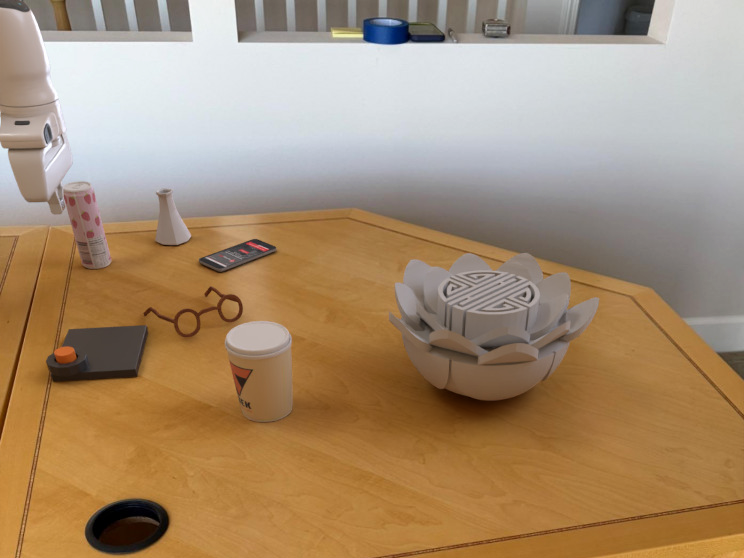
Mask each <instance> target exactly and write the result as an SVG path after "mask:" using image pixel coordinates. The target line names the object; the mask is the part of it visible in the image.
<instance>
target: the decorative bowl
mask: <svg viewBox="0 0 744 558" xmlns="http://www.w3.org/2000/svg"><path fill="white" fill-rule="evenodd" d="M402 278H403V279H402V282H400V281H399V282H395V283H394V297H395V302H396V306H397V309H398V311H399V313H400V316H401V318H398V317H396V316H395V314H393V313H392V312H391V311H390V310H388V321H389V323H390V324H391V325H393V326H394V328H396V330H398V331H399V332H400V333H401V338H402V342H403V347H404V349H405V352H406V353H407V356H408V358H409V360H410V361H411V363H412V365H413V366H414V368H415V369H416V371H418V373H419V374H420V375H421V376H422V377H423V378H424V380H426V381H427V382H428V383H430V384H431V386H434V387H435V388H437V389H439V390H443V389H445V390H447V391H449V392H452V393H455V394H458V395H460V396H465V397H470V398H472V399H476V400H480V401H488V402H489V401H490V402H491V401H493V402H494V401H501V400H507V399H512V398H515V397H517V396H520V395H522V394H525V393H527V392H528V391H530V390H531V389H534V387H536V386H537V385H538V384H539V383H540V382H545V381H546V380H548V378H550V377H551V375H553V373H555V371H556V370H557V369H558V367H559V366H560V365H561V363H562V361H563V360H564V357H565V356H566V354H567V352H568V349H569V347H570V343H571V341H574V340H575V339H577V338H578V337H580V336H581V335H582V334H583V333H584V332H585V331H586V330H587V329H588V327H589V325H590V324H591V323H592V321H593V319H594V318H595V316H596V314H597V311H598V308H599V304H600V298H599V297H596V296H594V297H592V298H589V299H587V300H584V301H582V302H580V303H578V304H575V305H574V306H572V307H570V308H569V304H570V299H571V294H572V293H571V292H572V282H571V277H570V275H569V273H568V272H566V271H561V272H556V273H554V274H551V275H548V276H547V277H545V278H544V273H543V269H542V268H541V266H540V264H539V262H538V260H537V259H536V258H535V257H534V256H533V255H532V254H531V253H529V252H522V253H518V254H515V255H514V256H512V257H510V258H509V259H507V260H506V261H505V262H503V263H502V264H501V265H500V266H499V267H498V268H497V269H495V270H493V269H492V267H491V266H490V265H489V264H488V263H487V262H486V261H485V260H484V259H483V258H481V257H480V256H479V255H477V254H474V253H471V252H467V253H464V254H463V255H461V256H459V257H458V258H457V259H456V260H455V261H454V262H453V263H452V264H451V266H450V267H449V269H448V270H447V269H445V268H444V267H440V266H431V265H429V264H428V263H426V262H425V261H422V260H420V259H414V258H413V259H410V260H409V261H408V263H407V264H406V266H405V270H404V273H403V277H402Z"/></svg>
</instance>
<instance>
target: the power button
mask: <svg viewBox="0 0 744 558" xmlns="http://www.w3.org/2000/svg"><path fill="white" fill-rule="evenodd" d="M53 353H54V354H55V357H56V360H57V362H58V363H60V364H65V363H70V362H73V361H75V360H76V359H77V357H76V354H75V350H74V348H72V347H68V346H66V347H62V346H61V347H58V348H56V349H55V350H54V352H53Z"/></svg>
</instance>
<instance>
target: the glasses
mask: <svg viewBox="0 0 744 558" xmlns="http://www.w3.org/2000/svg"><path fill="white" fill-rule="evenodd" d="M211 292H214V293H215V294H216V295H217V296H219V299H218V302H217V304H216V306H214V305H213V306H209V307H205V308H203V309H200V311H197V310H195V309H192V308H183V309H181V310H179V311H177V312H176V314H175V315H174V317H173V318H172V317H169V316H166V315H164V314H162V313H159V312H158V311H157V310H156V309H155V308H153V307H151V306H150V307H148V308H147V309H146V310H145V311H144V312H143V313H142V314H143V317H147V316H148V315H149V314H151V312H152V313H153V314H154V315H155V316H156V317H157V318H158V319H160V320H162V321H166V322H168V323H170V324H173V327H174V330H175V332H176V333H177V334H178V335H179V336H180V337H182V338H185V339H187V338H193V337H194V336H196V335H197V334H198V333H199V332H200V330H201V316H202V315H204V314H207V313H210V312H212V311H217V313H218V315H219V317H220V318H221V320H222V321H223V322H226V323H235V322H237V321H238V320H239V319H240V318H242V315H243V312H244V307H243V302H242V300H241V298H240V297H239V296H237V295H236V294H233V293H229V294H224V293H221V292H220V291H219V290H218V289H217V288H215V287H214V286H209V287H208V288H207V289H206V291H205V292H204V297H206V298H207V297H208V296H209V295H210V294H211ZM226 300H229V301H231V302H235V303H237V304H238V313H237V314H236V316H234V317H233V318H227V317H226V316H225V315H224V313H223V311H222V310H223V309H222V305H223V303H224V302H225V301H226ZM186 313H191V314H192V315H194V317H195V320H196V327H195V329H194V330H192V331H191V332H190V333H183V332H182V331H181V329H180V328H179V327H180V326H179V319H180V317H181V316H182V315H183V314H186Z"/></svg>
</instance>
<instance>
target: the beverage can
mask: <svg viewBox="0 0 744 558" xmlns="http://www.w3.org/2000/svg"><path fill="white" fill-rule="evenodd" d="M63 194H64V201H65V205H66V207H65V209H66V211H67V215H68V219H69V222H70V226H71V229H72V232H73V237H74V240H75V243H76V247H77V251H78V254H79V258H80V262H81V265H82V266H83V267H85V268H86V269H89V270H100V269H103V268H106V267H108V266H110V264H111V263H112V256H111V252H110V248H109V245H108V240H107V237H106V233H105V229H104V225H103V221H102V217H101V212H100V209H99V204H98V201H97V197H96V193H95V189H94V187H93V185H92V183H90V182H88V181H83V180H82V181H81V180H79V181H77V180H76V181H70V182H67V183H65V184H63Z"/></svg>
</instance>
